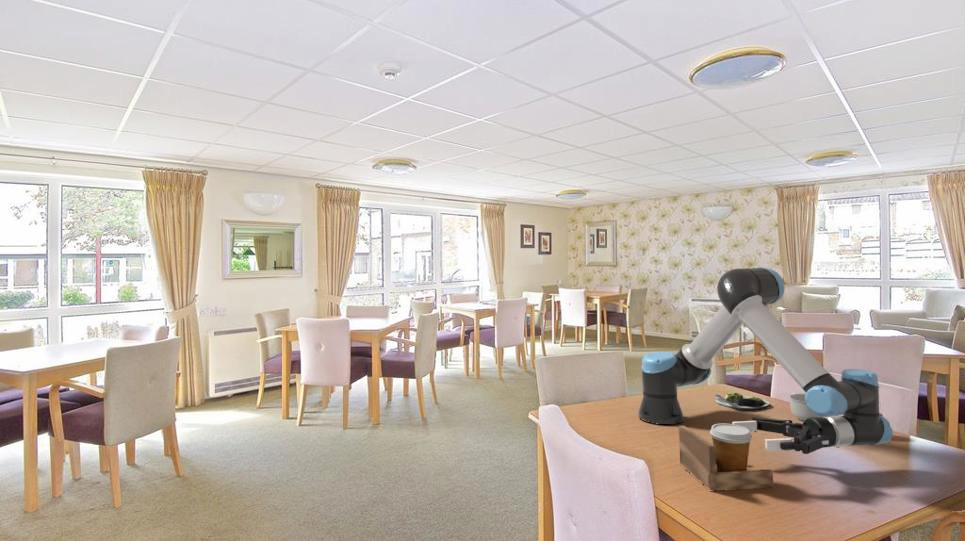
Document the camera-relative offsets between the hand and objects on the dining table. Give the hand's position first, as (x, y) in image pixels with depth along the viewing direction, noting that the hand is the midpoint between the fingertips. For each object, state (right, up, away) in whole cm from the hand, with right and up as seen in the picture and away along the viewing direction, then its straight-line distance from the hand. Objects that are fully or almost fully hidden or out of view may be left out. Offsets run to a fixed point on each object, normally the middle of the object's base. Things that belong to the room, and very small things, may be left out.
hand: (748, 435), depth 120 cm
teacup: (+45, -9, +42) cm, 63 cm away
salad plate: (+32, -10, +60) cm, 69 cm away
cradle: (-7, -10, 0) cm, 12 cm away
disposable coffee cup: (-6, -10, -2) cm, 11 cm away
